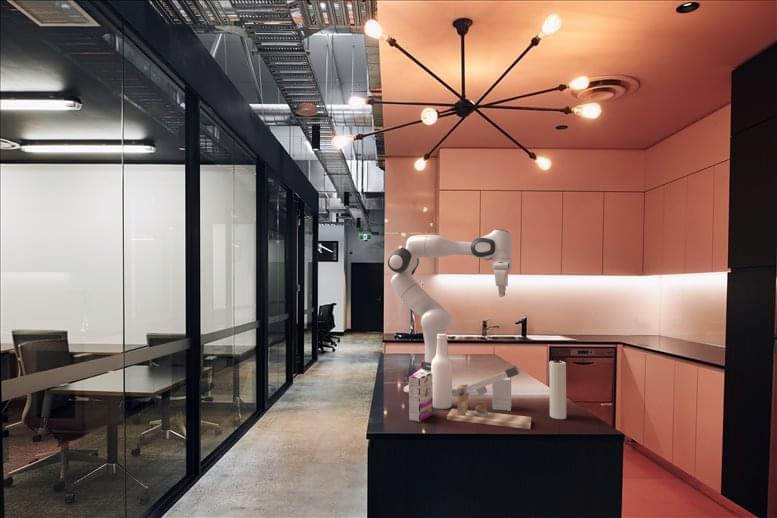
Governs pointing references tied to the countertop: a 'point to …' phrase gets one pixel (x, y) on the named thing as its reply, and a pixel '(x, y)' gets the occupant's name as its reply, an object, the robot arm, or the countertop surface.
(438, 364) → the alcohol
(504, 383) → the supplement box
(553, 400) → the paper towel roll
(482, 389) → the lever
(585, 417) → the countertop surface
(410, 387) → the candy bar box
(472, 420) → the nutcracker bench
